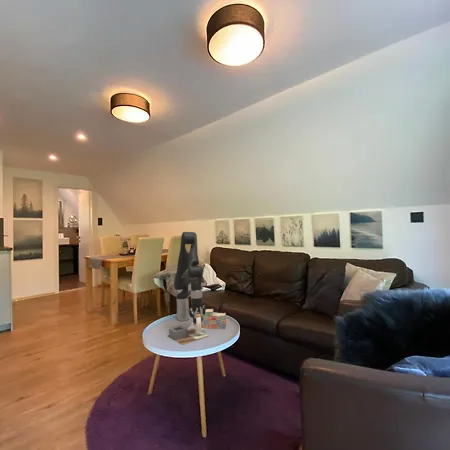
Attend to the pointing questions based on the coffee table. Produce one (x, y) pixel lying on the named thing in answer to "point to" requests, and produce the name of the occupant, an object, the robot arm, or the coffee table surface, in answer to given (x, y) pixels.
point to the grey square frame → (178, 332)
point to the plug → (198, 323)
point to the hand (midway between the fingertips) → (197, 322)
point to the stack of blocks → (213, 320)
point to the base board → (191, 337)
